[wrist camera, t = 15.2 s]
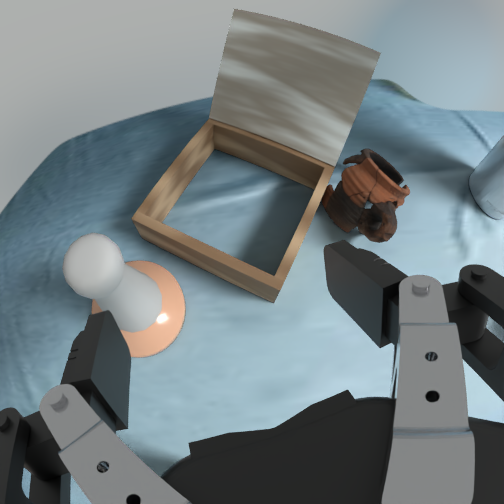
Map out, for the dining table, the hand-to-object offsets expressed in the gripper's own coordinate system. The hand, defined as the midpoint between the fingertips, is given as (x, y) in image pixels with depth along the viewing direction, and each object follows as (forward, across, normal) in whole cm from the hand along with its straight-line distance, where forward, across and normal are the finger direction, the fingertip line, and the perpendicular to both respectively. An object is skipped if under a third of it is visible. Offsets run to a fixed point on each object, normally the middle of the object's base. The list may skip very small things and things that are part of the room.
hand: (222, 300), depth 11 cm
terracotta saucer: (+19, +8, +10) cm, 23 cm away
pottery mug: (+22, -20, +8) cm, 31 cm away
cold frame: (+26, -7, +3) cm, 28 cm away
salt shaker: (+18, +8, +9) cm, 22 cm away
